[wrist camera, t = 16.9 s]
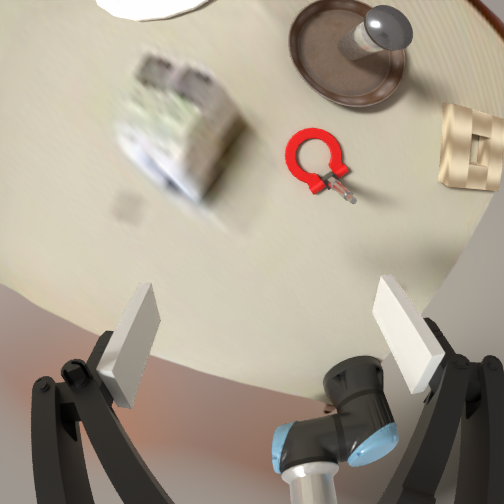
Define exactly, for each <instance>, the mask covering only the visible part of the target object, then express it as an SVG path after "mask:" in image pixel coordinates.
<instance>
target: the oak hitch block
mask: <svg viewBox="0 0 504 504" xmlns="http://www.w3.org/2000/svg"><path fill="white" fill-rule="evenodd" d="M472 134H477V135H479V148H478V158H477V163H475V162H469V160H470V149H471V136H472ZM503 153H504V119H502V118H499V117H496V116H493V115H490V114H487V113H483V112H480V111H477V110H473V109H470V108H466V107H463V106H459V105H455V104H447V103H443V126H442V144H441V157H440V167H439V176H438V181H439V182H441V183H443V184H445V185H447V186H448V187H459V188H471V189H482V190H492V191H498V189H499V184H500V178H501V171H502V163H503Z"/></svg>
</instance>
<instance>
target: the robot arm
mask: <svg viewBox="0 0 504 504" xmlns="http://www.w3.org/2000/svg"><path fill="white" fill-rule="evenodd" d="M372 314H373V316H374V318H375V320H376V321H377V323H378V325H379V327H380V329H381V331H382V333H383V335H384V337H385V339H386V341H387V343H388V345H389V348H390V350H391V352H392V354H393V356H394V358H395V360H396V362H397V364H398V366H399V368H400V371H401V373H402V375H403V377H404V379H405V382H406V384H407V386H408V388H409V390H410V393H411V394H416V393H420V392H424V391H425V389H426V387H427V386H428V384H429V386H430V388H431V391H430V393H429V394H428V396H427V398H426V399H425V400H424V403H425V402H426V403H425V406H424V409H423V411H422V414H421V416H420V419H419V421H418V424H417V427H416V429H415V431H414V433H413V436H412V438H411V440H410V442H409V445H408V447H407V449H406V451H405V453H404V455H403V457H402V460H401V462H400V464H399V466H398V468H397V470H396V471H395V473H394V475H393V477H392V479H391V481H390V483H389V484H388V486H387V488H386V490H385V492H384V493H383V495H382V497H381V498H380V500H379V502H378V504H435V502H436V499H435V497H434V494H435V491H436V489H437V486H438V484H439V482H440V479H441V477H442V474H443V471H444V469H445V466H446V463H447V461H448V458H449V455H450V451H451V449H452V445H453V442H454V439H455V436H456V432H457V429H458V425H459V422H460V418H461V446H460V462H459V472H458V480H457V488H456V495H455V501H454V504H504V370H503V366H502V363H501V361H500V360H499V359H498V358H496V357H495V356H492V355H488V356H486V357H484V359H483V361H482V362H481V363H475V362H470V361H469V360H468V359H467V358H466V357H465V356H463V355H461V354H456V353H455V352H454V350H453V349H452V347H451V345H450V344H449V343H448V341H447V339H446V338H445V336H443V333H442V332H441V331H440V329H439V328H438V326H437V325H436V323H435V322H433V321H432V320H431V319H430V318H422V316H421V315H420V313H419V312H418V310H417V309H416V308H415V306H414V305H413V303H412V302H411V300H410V299H409V298H408V296H407V295H406V293H405V292H404V291H403V289H402V288H401V286H400V285H399V284H398V282H397V281H396V280H395V278H394V277H393V275H381V276H380V281H379V285H378V290H377V294H376V299H375V303H374V307H373V311H372ZM160 321H161V320H160V316H159V312H158V308H157V304H156V300H155V296H154V292H153V288H152V284H151V283H139V284H138V286H137V288H136V290H135V292H134V293H133V295H132V297H131V299H130V301H129V303H128V305H127V307H126V309H125V311H124V313H123V315H122V316H121V318H120V320H119V322H118V324H117V326H116V328H115V330H114V331H105V332H104V333H103V334H102V335H101V336H100V337H99V339H98V341H97V343H96V346H95V347H94V349H93V352H92V353H91V355H90V357H89V359H88V361H87V363H85V362H84V361H83V360H81V359H74V360H70V361H68V362H67V363H65V365H64V366H63V367H62V370H61V376H62V377H63V379H64V380H65V382H62V383H55V381H54V380H53V379H52V378H51V377H49V376H43V377H41V378H39V379H38V380H37V381H36V382H35V383H34V385H33V389H32V409H31V410H32V411H31V439H32V441H31V442H32V461H33V473H34V483H35V490H36V497H37V504H95V503H94V500H93V496H92V492H91V488H90V484H89V479H88V474H87V469H86V464H85V459H84V454H83V448H82V441H81V434H80V427H79V421H82V423H83V425H84V427H85V430H86V432H87V435H88V437H89V439H90V441H91V444H92V445H93V448H94V450H95V452H96V454H97V456H98V458H99V460H100V462H101V464H102V466H103V468H104V470H105V472H106V473H107V475H108V477H109V479H110V481H111V482H112V484H113V486H114V488H115V489H116V491H117V493H118V494H119V496H120V498H121V499H122V501H123V502H124V504H175V503H174V502H173V501H172V500H171V498H170V497H169V496H168V494H167V493H166V492H165V490H164V489H163V488H162V486H161V485H160V484H159V482H158V481H157V479H156V478H155V477H154V475H153V474H152V473H151V471H150V470H149V468H148V467H147V465H146V464H145V462H144V461H143V459H142V458H141V456H140V454H139V453H138V452H137V450H136V448H135V447H134V445H133V443H132V442H131V440H130V438H129V437H128V435H127V433H126V432H125V430H124V428H123V426H122V425H121V423H120V421H119V419H118V417H117V416H116V414H115V412H114V410H113V408H112V407H111V406H112V403H113V400H114V401H115V403H116V405H117V406H118V407H123V408H129V409H132V408H133V404H134V401H135V397H136V394H137V391H138V388H139V384H140V381H141V378H142V375H143V372H144V369H145V365H146V362H147V359H148V356H149V353H150V350H151V347H152V344H153V341H154V338H155V335H156V333H157V330H158V327H159V324H160ZM323 385H324V390H325V393H326V394H327V396H328V397H329V399H330V400H331V401H332V403H333V404H334V406H335V407H336V409H337V412H338V413H337V414H334V415H328V416H324V417H319V418H314V419H310V420H304V421H294V422H292V423H288V424H283V425H280V426H279V427H278V428H277V429H276V430H275V433H274V437H273V443H272V455H273V459H272V461H273V467H274V471H275V472H276V473H279V474H281V476H282V479H283V480H284V481H285V482H287V483H288V484H290V494H291V504H337V499H336V493H335V487H334V481H333V476H334V475H335V474H336V473H337V472H338V470H339V466H338V463H340V462H344V461H348V464H349V465H350V466H352V467H356V466H362V465H366V464H369V463H371V462H373V461H375V460H378V459H379V458H381V457H383V456H384V455H386V454H387V453H389V452H390V451H391V450H392V449H393V448H394V447H395V446H396V444H397V443H398V440H399V435H398V432H397V428H396V426H397V425H396V423H395V421H394V419H393V416H392V413H391V411H390V408H389V405H388V402H387V400H386V397H385V394H384V392H383V369H382V367H381V364H380V362H379V361H378V360H377V359H376V358H373V357H369V356H360V357H354V358H350V359H348V360H345V361H343V362H341V363H339V364H337V365H336V366H334V367H333V368H332V369H331V370H329V372H328V373H327V374H326V375H325V377H324V380H323Z"/></svg>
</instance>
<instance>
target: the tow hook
mask: <svg viewBox="0 0 504 504" xmlns="http://www.w3.org/2000/svg"><path fill="white" fill-rule="evenodd" d="M309 138H317V139H320V140H322V141H324V142H325V143H326V144H327V145H328V147H329V149H330V152H331V159H330V162H329V167H330V168H331V170H332V171H331V172H329V173H328V174H326V175H325V176H323V177H322V178H321V179H320V178H319V176H318V175H317V174H315V173H307V172H305V171H303V170H302V169H301V168H300V167H299V166H298V164H297V162H296V150H297V148H298V146H299V145H300V144H301V143H302V142H303V141H304V140H307V139H309ZM285 160H286V164H287V166H288V169H289V170H290V172H291V173H292V174H293V176H295V177H296V178H297V179H299V180H300V181H303V182H305V183H307V184H308V185H309V189H310V190H311V192H312V193H313V194H316V193H317V192H319V191H320V190H322V189H323V188H325V187H326V188H327V189H328V190H329V189H333V190H335V191H336V192H338V193H339V194H340V195H341V196H342V197H343V198H344V199H345V200H347V201H349V202H351V203H352V204H355V203H356V201H357V200H356V198H355V197H354V196H353V194H352V193H351V192H350V191H349V190H348V189H347V188H345V187H344V186H343V185H342V184H341V182H340V181H339V179H338V178H340V177H341V176H343V175H345V174H346V173H348V172H349V170H348V168H347V167H346V166H345V165H344V164H343V163H342V162H341V149H340V146H339V144H338V142H337V141H336V139H335V138H334V137H333V136H332V135H331V134H330V133H328V132H326V131H324V130H322V129H317V128H307V129H304V130H301V131H299V132H297V133H296V134H295V135H293V136H292V138H291V139H290V140H289V142H288V144H287V146H286V150H285Z"/></svg>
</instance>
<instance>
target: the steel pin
mask: <svg viewBox="0 0 504 504" xmlns="http://www.w3.org/2000/svg"><path fill="white" fill-rule="evenodd" d="M412 38H413V31H412V27H411V24H410V22H409V21H408V19H407V18H406V17H405V15H404V14H403V13H401V12H400V11H399V10H397V9H395V8H393V7H391V6H387V5H379V6H376V7H374V8H372V9H371V10H370V11H368V12H367V14H366V15H365V18H364V21H363V22H362V23H361V24H359V25H358V26H356V27H355V28H353V29H352V30H350V31H349V32H348V33H346V34H345V35H343V36H342V37H341V38H340V39H339V41H338V49H339V52H340V53H341V54H342V55H343V56H344V57H345V58H347V59H350V60H357V59H360V58H362V57H365V56H368V55H370V54H373V53H375V52H378V51H381V50H383V49H386V50H389V51H397V50H400V49H404V48H406V47H407V46H408V45H409V44H410V43H411V41H412Z"/></svg>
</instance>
